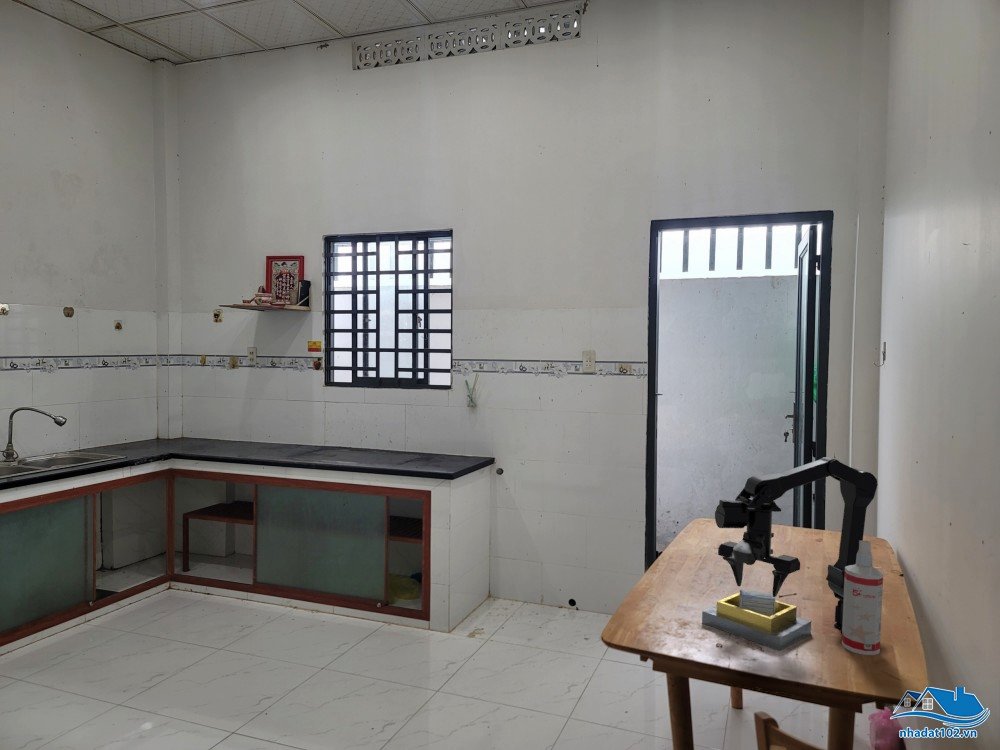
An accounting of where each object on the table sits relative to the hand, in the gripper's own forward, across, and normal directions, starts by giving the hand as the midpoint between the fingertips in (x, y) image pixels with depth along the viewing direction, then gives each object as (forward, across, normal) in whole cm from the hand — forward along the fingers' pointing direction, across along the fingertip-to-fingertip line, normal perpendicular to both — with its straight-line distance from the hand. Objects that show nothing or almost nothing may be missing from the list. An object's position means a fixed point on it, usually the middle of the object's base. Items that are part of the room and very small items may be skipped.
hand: (756, 591), depth 164 cm
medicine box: (+10, 0, 0) cm, 10 cm away
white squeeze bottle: (+9, +21, +9) cm, 25 cm away
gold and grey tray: (+9, 0, 0) cm, 9 cm away
